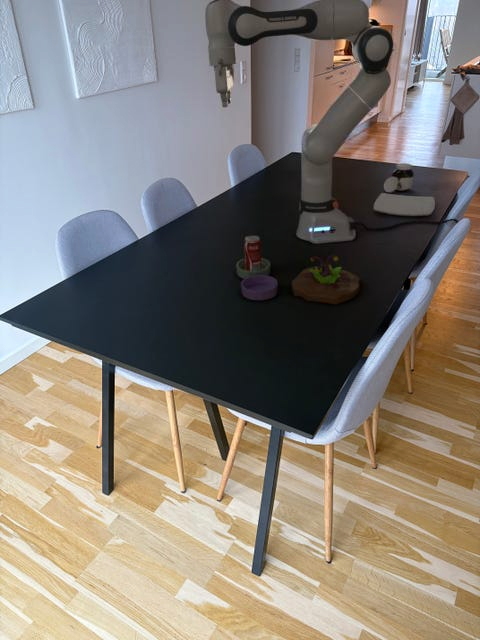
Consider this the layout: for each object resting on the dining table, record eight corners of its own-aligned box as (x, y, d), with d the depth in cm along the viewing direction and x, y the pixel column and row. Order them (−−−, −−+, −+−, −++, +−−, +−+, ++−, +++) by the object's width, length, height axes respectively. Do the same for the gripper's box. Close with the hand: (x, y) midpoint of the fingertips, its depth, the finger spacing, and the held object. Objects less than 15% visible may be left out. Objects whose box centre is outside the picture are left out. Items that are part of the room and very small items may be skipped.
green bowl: (270, 265, 162) (270, 256, 161) (269, 280, 153) (269, 271, 151) (238, 265, 163) (237, 257, 162) (235, 280, 154) (235, 271, 152)
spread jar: (413, 189, 227) (417, 164, 220) (406, 195, 219) (410, 170, 212) (388, 186, 232) (391, 161, 226) (381, 192, 224) (384, 167, 218)
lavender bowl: (277, 283, 151) (277, 274, 149) (277, 301, 141) (277, 291, 140) (242, 284, 152) (242, 275, 150) (240, 301, 142) (239, 291, 141)
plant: (344, 310, 135) (347, 274, 129) (282, 295, 144) (282, 261, 139) (368, 281, 149) (371, 248, 143) (310, 269, 159) (312, 237, 153)
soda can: (244, 269, 160) (243, 235, 154) (260, 268, 160) (259, 234, 154) (246, 276, 156) (244, 241, 149) (262, 274, 156) (261, 240, 150)
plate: (369, 215, 199) (370, 209, 197) (378, 197, 218) (379, 192, 216) (432, 221, 190) (433, 214, 189) (435, 202, 209) (436, 196, 208)
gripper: (229, 59, 145) (233, 108, 152) (235, 56, 163) (238, 101, 170) (208, 61, 146) (213, 110, 153) (217, 58, 163) (221, 102, 170)
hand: (226, 105), depth 161 cm, fingers open, 8 cm apart
